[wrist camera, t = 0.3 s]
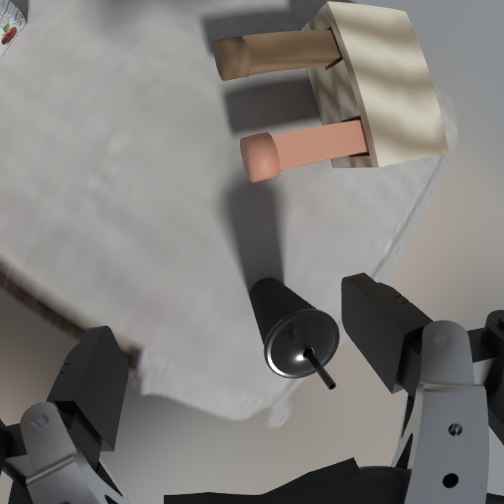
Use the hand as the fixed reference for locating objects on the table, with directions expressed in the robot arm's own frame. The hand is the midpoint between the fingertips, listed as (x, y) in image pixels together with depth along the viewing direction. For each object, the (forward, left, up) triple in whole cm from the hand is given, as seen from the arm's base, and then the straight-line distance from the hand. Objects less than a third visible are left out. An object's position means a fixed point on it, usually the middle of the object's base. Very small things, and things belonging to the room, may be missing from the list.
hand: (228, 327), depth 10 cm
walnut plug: (-16, +15, -23) cm, 31 cm away
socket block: (-11, +25, -28) cm, 39 cm away
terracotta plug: (-5, +15, -23) cm, 27 cm away
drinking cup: (+12, +6, -28) cm, 31 cm away
